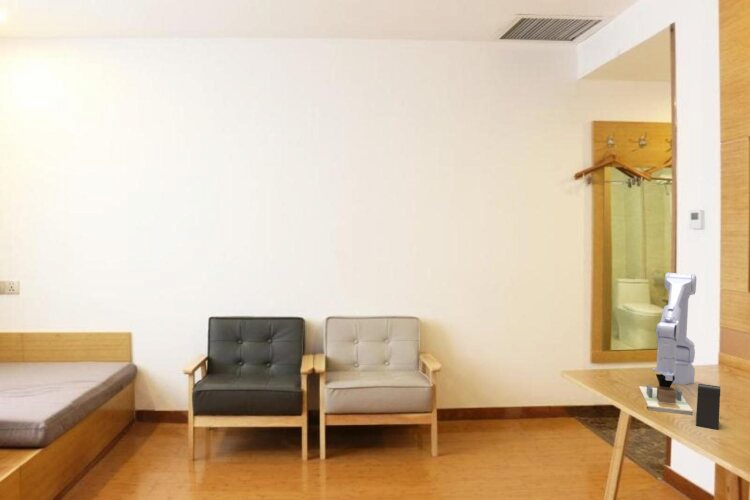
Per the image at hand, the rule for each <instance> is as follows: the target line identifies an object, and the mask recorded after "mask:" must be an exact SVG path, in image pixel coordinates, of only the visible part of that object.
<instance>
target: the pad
mask: <svg viewBox="0 0 750 500" xmlns="http://www.w3.org/2000/svg"><path fill="white" fill-rule="evenodd" d="M644 400H645V402H646V401H656V402H658V403H660V402H659V401H658V399H653V398H644ZM677 404H683V405H689V404H688V402H687V401H686V402H681V401H676V404H675V405H677Z"/></svg>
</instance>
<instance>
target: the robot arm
mask: <svg viewBox="0 0 750 500" xmlns="http://www.w3.org/2000/svg"><path fill="white" fill-rule="evenodd" d="M663 285H664V288H665V289H666V291H667V292H668V301H667V305H665V306H664V307H663V310H662V313H661V317H660V318H661V319H660V321H659V322H657V325H656V330H655V331H656V332H655V333H656V343H657V349H656V351H657V354H656V367H652V371H654V372H656V374H655V376H656V379H657V381H658V386H662V387H671V386H672V385H682V386H685V385H686V386H687V385H689V384H694V383H695V375H696V370H695V367H694V365H693V363H694V361H695V354H696V349H695V343H694V342H693V341H692V340H691V339H690V338H688V337H687V333H688V332H687V331H688V317H689V316H688V313H689V299H690V297H691V296H693V295H695V294H696V291H697V276H696V274H695V273H692V274H689V273H678V272H669V271H668V272H666V273H665V276H664V284H663ZM657 373H659V374H657Z"/></svg>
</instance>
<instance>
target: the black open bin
mask: <svg viewBox="0 0 750 500" xmlns="http://www.w3.org/2000/svg"><path fill="white" fill-rule="evenodd" d="M696 399H697V400H696V413H695V414H696V416H695V426H696V427H701V428H707V429H713V430H719V428H720V409H721V408H720V406H721V404H720V403H721V386H719V385H718V386H717V385H711V384H703V383H698V384H697V397H696Z"/></svg>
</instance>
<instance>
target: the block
mask: <svg viewBox="0 0 750 500" xmlns="http://www.w3.org/2000/svg"><path fill="white" fill-rule="evenodd" d="M656 388H657V399H658V401H659V402H658V403H660V402H665V403H664V404H669V403H674V404H673V405H677V404H676V391H675V387H662V386H659V385H658V386H657V387H656Z"/></svg>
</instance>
